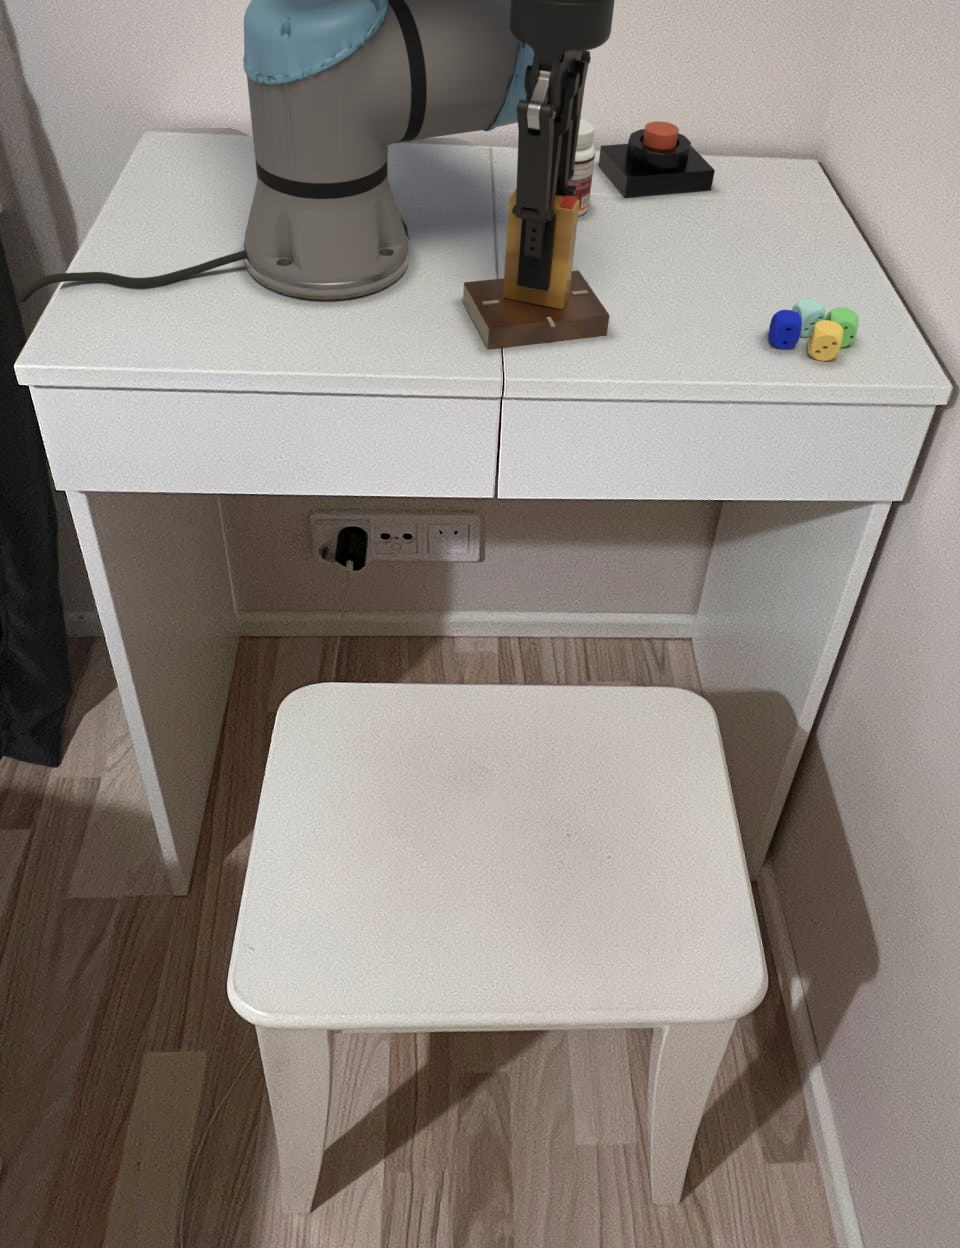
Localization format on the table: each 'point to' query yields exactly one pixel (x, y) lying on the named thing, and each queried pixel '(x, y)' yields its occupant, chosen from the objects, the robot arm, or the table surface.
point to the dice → (814, 328)
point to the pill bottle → (583, 165)
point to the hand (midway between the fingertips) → (537, 277)
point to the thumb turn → (561, 258)
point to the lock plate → (533, 315)
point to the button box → (655, 168)
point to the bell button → (660, 135)
